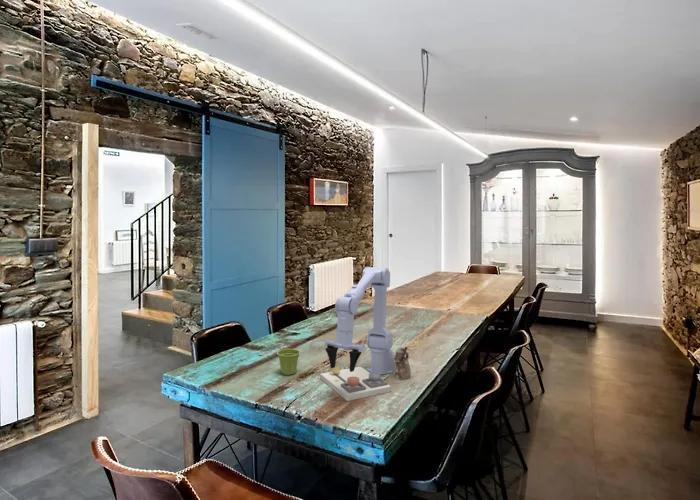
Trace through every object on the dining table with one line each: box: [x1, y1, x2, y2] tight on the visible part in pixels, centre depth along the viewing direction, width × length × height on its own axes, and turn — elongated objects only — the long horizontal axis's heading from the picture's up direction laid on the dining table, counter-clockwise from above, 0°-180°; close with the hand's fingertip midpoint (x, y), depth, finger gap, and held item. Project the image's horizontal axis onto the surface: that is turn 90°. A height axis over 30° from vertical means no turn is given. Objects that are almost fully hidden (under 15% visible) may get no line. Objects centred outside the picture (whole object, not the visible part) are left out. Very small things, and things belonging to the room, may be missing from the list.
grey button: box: [369, 372, 382, 382], centre depth 162 cm, size 4×4×2 cm
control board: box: [319, 366, 392, 402], centre depth 166 cm, size 18×24×3 cm
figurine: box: [392, 346, 411, 381], centre depth 174 cm, size 7×7×12 cm
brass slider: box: [329, 360, 341, 375], centre depth 172 cm, size 3×3×5 cm
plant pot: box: [276, 348, 301, 376], centre depth 179 cm, size 9×9×9 cm
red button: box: [347, 377, 359, 386], centre depth 158 cm, size 4×4×2 cm
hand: (342, 369), depth 153 cm, fingers open, 7 cm apart
